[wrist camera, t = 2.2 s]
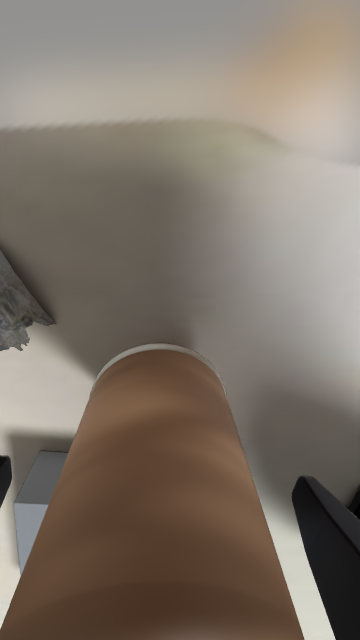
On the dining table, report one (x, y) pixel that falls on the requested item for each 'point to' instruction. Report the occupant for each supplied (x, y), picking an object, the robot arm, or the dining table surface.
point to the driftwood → (16, 309)
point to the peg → (154, 519)
